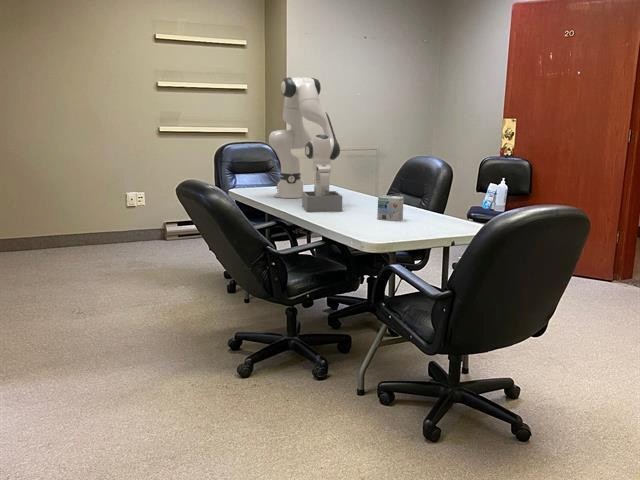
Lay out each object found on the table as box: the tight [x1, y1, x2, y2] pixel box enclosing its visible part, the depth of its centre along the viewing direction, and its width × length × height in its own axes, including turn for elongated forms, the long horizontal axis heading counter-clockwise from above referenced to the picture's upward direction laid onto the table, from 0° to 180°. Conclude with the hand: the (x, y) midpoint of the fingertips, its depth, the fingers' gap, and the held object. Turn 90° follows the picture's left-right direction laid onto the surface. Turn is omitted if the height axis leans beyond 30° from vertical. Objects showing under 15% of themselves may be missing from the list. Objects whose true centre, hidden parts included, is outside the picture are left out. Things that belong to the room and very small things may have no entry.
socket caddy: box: [301, 190, 343, 213], centre depth 306 cm, size 18×18×8 cm
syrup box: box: [313, 180, 331, 196], centre depth 306 cm, size 6×6×14 cm
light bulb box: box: [376, 194, 405, 222], centre depth 278 cm, size 11×7×11 cm, turn 62°
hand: (321, 193), depth 306 cm, fingers closed on syrup box, 8 cm apart
